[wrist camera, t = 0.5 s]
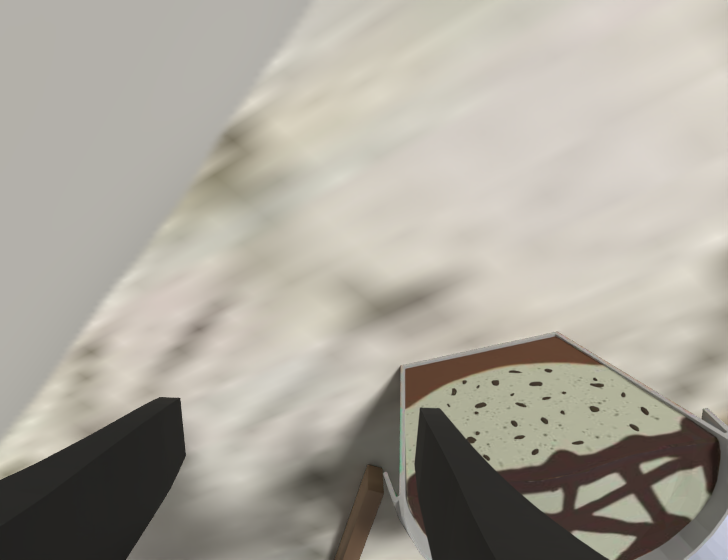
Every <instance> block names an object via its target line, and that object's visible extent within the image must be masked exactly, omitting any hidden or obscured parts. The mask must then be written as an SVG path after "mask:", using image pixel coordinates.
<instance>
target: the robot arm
mask: <svg viewBox="0 0 728 560" xmlns="http://www.w3.org/2000/svg"><path fill="white" fill-rule="evenodd" d="M185 456H186V452H185V442H184V432H183V422H182V411H181V401H180V398H167V397H159V398H157V399H155V400H153V401H151V402H149V403H147V404H145V405H143V406H141V407H139V408H138V409H136V410H134V411H132V412H130V413H129V414H127V415H125V416H123V417H122V418H120V419H118V420H116V421H114V422H113V423H111V424H109V425H107V426H106V427H104V428H102V429H100V430H98V431H97V432H95V433H93V434H91V435H89V436H88V437H86V438H84V439H82V440H80V441H78V442H76V443H74V444H72V445H71V446H69V447H67V448H65V449H63V450H61V451H59V452H57V453H55V454H53V455H51V456H49V457H48V458H46V459H44V460H42V461H40V462H38V463H36V464H34V465H32V466H29V467H27V468H25V469H23V470H21V471H19V472H17V473H15V474H12V475H10V476H8V477H6V478H4V479H1V480H0V560H126V559H127V557H128V556H129V554H130V552H131V551H132V549H133V548H134V546H135V545H136V543H137V541H138V540H139V538H140V537H141V535H142V533H143V532H144V530H145V529H146V527H147V526H148V524H149V522H150V521H151V519H152V518H153V516H154V514H155V513H156V511H157V510H158V508H159V506H160V505H161V503H162V502H163V500H164V498H165V497H166V495H167V493H168V492H169V490H170V488H171V486H172V484H173V482H174V480H175V478H176V476H177V474H178V472H179V470H180V467H181V465H182V463H183V461H184V459H185ZM414 465H415V474H416V484H417V492H418V499H419V504H420V508H421V513H422V517H423V522H424V526H425V531H426V535H427V539H428V544H429V548H430V552H431V557H432V560H609V559H608V558H606V557H604V556H603V555H601V554H600V553H598V552H597V551H595V550H594V549H592V548H591V547H590V546H588V545H587V544H585V543H584V542H582V541H581V540H579V539H578V538H577V537H575V536H574V535H573V534H571V533H570V532H568V531H567V530H566V529H564V528H563V527H562V526H560V525H559V524H558V523H556V522H555V521H553V520H552V519H551V518H550V517H548V516H547V515H546V514H545V513H543V512H542V511H541V510H539V509H538V508H537V507H536V506H535V505H534V504H532V503H531V502H530V501H529V500H528V499H526V498H525V497H524V496H523V495H522V494H521V493H519V492H518V491H517V490H516V489H515V488H514V487H513V486H511V485H510V484H509V483H508V482H507V481H506V480H505V479H504V478H503V477H502V476H501V475H500V474H499V473H498V472H497V471H496V470H495V469H494V468H493V467H492V466H491V465H490V464H489V463H488V462H487V461H486V460H485V459H484V458H483V457H482V456H481V455H480V454H479V453H478V452H477V450H476V449H475V448H474V447H473V446H472V445H471V444H470V443H469V442H468V440H467V439H466V438H465V437H464V436H463V435H462V433H461V432H460V431H459V430H458V429H457V428H456V426H455V425H454V424H453V423H452V422H451V420H450V419H449V418H448V417H447V416H446V414H445V413H444V412H443V411H442V410H441V409H440V408H422V407H420V412H419V422H418V432H417V442H416V453H415V463H414ZM687 560H728V515H727V517H726V518H725V520H724V521H723V522H722V524H721V525H720V526H719V528H718V529H717V530H716V532H715V533H714V535H713V536H712V537H711V538H710V539H709V540H708V541H707V542H706V543H705V544H704V545H703V546H702V547H701V548H700V549H699V550H698V551H697V552H696V553H695V554H694V555H692V556H691V557H690V558H689V559H687Z"/></svg>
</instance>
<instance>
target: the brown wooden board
mask: <svg viewBox="0 0 728 560" xmlns="http://www.w3.org/2000/svg"><path fill="white" fill-rule="evenodd" d="M383 495H384V487H383V472H382V468H380V467H375V466H371V465H367V468H366V470H365V473H364V476H363V479H362V482H361V485H360V488H359V490H358V493H357V496H356V499H355V502H354V505H353V508H352V510H351V513H350V516H349V519H348V522H347V525H346V528H345V530H344V533H343V536H342V539H341V542H340V545H339V548H338V550H337V553H336V556H335V559H334V560H359V559H360V556H361V554H362V551H363V548H364V545H365V543H366V540H367V537H368V535H369V532H370V529H371V527H372V524H373V521H374V519H375V516H376V513H377V511H378V508H379V505H380V503H381V500H382V497H383Z"/></svg>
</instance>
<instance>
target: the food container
mask: <svg viewBox="0 0 728 560" xmlns="http://www.w3.org/2000/svg"><path fill="white" fill-rule="evenodd" d="M420 407H422V408H440V409H441V410H442V411H443V412H444V413H445V414H446V416H447V417H448V418H449V419H450V420H451V422H452V423H453V424H454V425H455V426H456V428H457V429H458V430H459V431H460V432H461V433H462V435H463V436H464V437H465V438H466V439H467V440H468V442H469V443H470V444H471V445H472V446H473V447H474V448H475V449H476V450H477V452H478V453H479V454H480V455H481V456H482V457H483V458H484V459H485V460H486V461H487V462H488V463H489V464H490V465H491V466H492V467H493V468H494V469H495V470H496V471H497V472H498V473H499V474H500V475H501V476H502V477H503V478H504V479H505V480H506V481H507V482H508V483H509V484H510V485H511V486H513V487H514V488H515V489H516V490H517V491H518V492H519V493H521V494H522V495H523V496H524V497H525V498H526V499H528V500H529V501H530V502H531V503H532V504H534V505H535V506H536V507H537V508H538V509H539V510H541V511H542V512H543V513H545V514H546V515H547V516H548V517H550V518H551V519H552V520H553V521H555V522H556V523H558V524H559V525H560V526H562V527H563V528H564V529H566V530H567V531H568V532H570V533H571V534H573V535H574V536H575V537H577V538H578V539H579V540H581V541H582V542H584V543H585V544H587V545H588V546H590V547H591V548H592V549H594V550H595V551H597V552H598V553H600V554H601V555H603V556H604V557H606V558H608V559H609V560H687V559H689V558H690V557H691V556H692V555H694V554H695V553H696V552H697V551H698V550H699V549H700V548H701V547H702V546H703V545H704V544H705V543H706V542H707V541H708V540H709V539H710V538H711V537H712V536H713V535H714V533H715V532H716V530H717V529H718V528H719V526H720V525H721V524H722V522H723V521H724V520H725V518H726V517H727V515H728V426H727V425H726V424H725V423H724V422H722V421H721V420H720V419H719V418H718V417H717V416H716V415H715V414H714V413H713V412H711V411H710V410H709V409H708V408H705V409H703V413H702V419H700V418H699V417H697V416H695V415H694V414H692V413H690V412H689V411H687V410H686V409H684V408H682V407H681V406H679V405H677V404H676V403H674V402H672V401H671V400H669V399H667V398H666V397H664V396H662V395H661V394H659V393H658V392H656V391H654V390H653V389H651V388H649V387H648V386H646V385H644V384H643V383H641V382H639V381H638V380H636V379H634V378H633V377H631V376H630V375H628V374H626V373H625V372H623V371H621V370H620V369H618V368H616V367H615V366H613V365H611V364H610V363H608V362H606V361H605V360H603V359H602V358H600V357H598V356H597V355H595V354H593V353H592V352H590V351H588V350H587V349H585V348H583V347H582V346H580V345H578V344H577V343H575V342H574V341H572V340H570V339H569V338H567V337H565V336H564V335H562V334H560V333H559V332H553V333H549V334H544V335H539V336H535V337H530V338H525V339H521V340H516V341H512V342H507V343H502V344H498V345H493V346H489V347H484V348H479V349H475V350H470V351H466V352H461V353H456V354H452V355H447V356H443V357H438V358H433V359H429V360H424V361H419V362H415V363H410V364H406V365H401V385H400V484H399V496H397V494H396V492H395V491H394V489H393V486H392V484H391V481H390V479H389V476H388V473H387V472H384V473H383V475H384V478H385V481H386V484H387V487H388V490H389V493H390V496H391V499H392V502H393V504H394V507H395V509H396V512H397V515H398V517H399V520H400V522H401V523H402V525H403V527H404V528H405V530H406V531H407V533H408V535H409V536H410V538H411V539H412V541H413V543H414V544H415V546H416V548H417V549H418V551H419V552H420V554H421V555H422V556H423V557H424V558H425V559H426V560H432V557H431V552H430V548H429V544H428V539H427V535H426V531H425V526H424V522H423V517H422V513H421V508H420V504H419V499H418V492H417V484H416V474H415V465H414V463H415V453H416V442H417V432H418V422H419V412H420Z"/></svg>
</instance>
